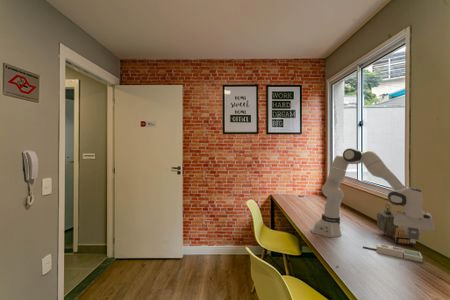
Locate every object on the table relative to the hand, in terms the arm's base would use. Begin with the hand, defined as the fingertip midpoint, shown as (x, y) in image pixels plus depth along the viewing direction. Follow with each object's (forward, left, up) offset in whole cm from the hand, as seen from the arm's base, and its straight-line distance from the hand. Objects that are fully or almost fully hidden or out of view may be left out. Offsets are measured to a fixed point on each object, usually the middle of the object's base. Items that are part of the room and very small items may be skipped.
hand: (413, 234), depth 148 cm
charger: (0, 0, -5) cm, 5 cm away
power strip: (-16, -1, -15) cm, 22 cm away
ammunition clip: (-2, +21, -15) cm, 26 cm away
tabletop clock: (-12, +33, -15) cm, 38 cm away
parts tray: (0, 0, -15) cm, 15 cm away
